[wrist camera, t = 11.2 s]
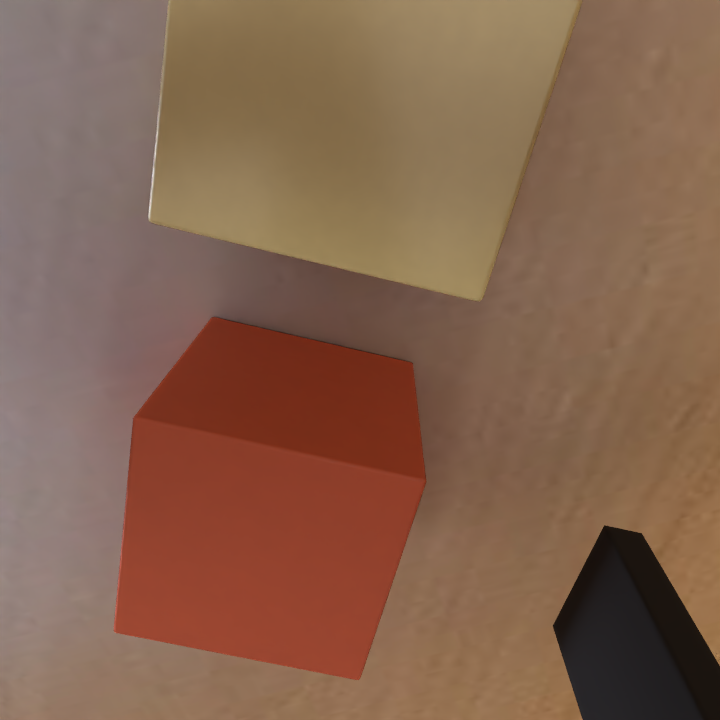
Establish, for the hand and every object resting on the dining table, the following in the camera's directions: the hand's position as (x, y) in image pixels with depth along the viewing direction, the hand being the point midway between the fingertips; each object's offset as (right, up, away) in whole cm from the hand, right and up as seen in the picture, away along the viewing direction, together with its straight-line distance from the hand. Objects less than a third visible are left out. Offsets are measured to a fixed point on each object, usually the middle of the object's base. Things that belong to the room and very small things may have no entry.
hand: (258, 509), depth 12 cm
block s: (0, +1, +4) cm, 4 cm away
